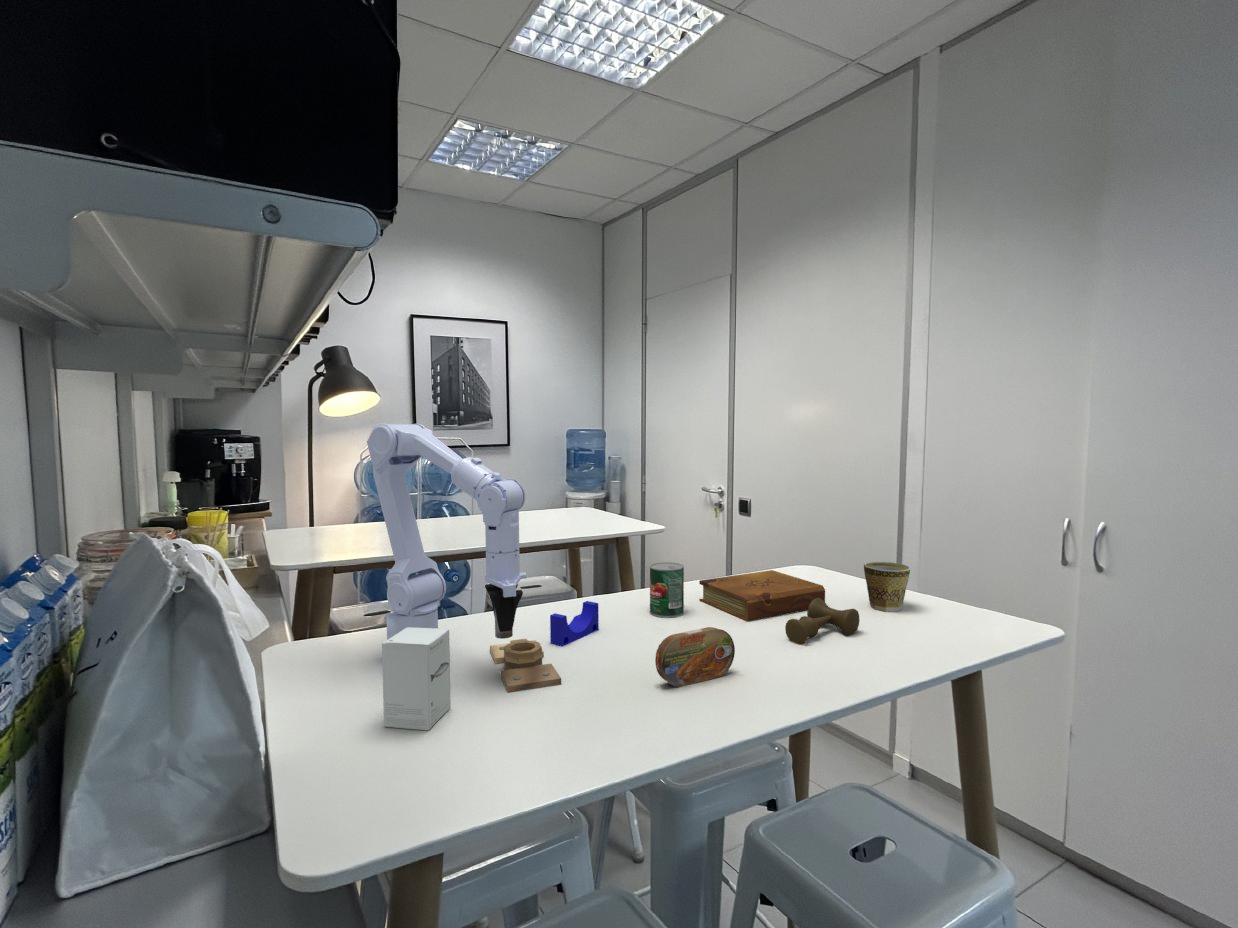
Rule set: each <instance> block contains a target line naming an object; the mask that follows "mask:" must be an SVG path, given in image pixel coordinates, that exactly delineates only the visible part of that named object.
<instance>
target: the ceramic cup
mask: <svg viewBox="0 0 1238 928" xmlns="http://www.w3.org/2000/svg"><path fill="white" fill-rule="evenodd" d="M863 571H864V572H863V573H864V578H865V582H866V589H867V593H868V594H867V595H868V601H869V606H870V607H871V608H872V609H873V610H874V611H875V610H876V611H879V612H880V611H881V612H885V613H897V612H899V611H901V610H903V606H904V601H905V600H904V599H905V596H906V592H907V586H908V583H909V579H910V573H911V567H910V566H908V565H906V564H903V563H899V562H893V561H892V562H891V561H869V562H865V563H863Z"/></svg>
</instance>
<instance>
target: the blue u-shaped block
mask: <svg viewBox="0 0 1238 928" xmlns="http://www.w3.org/2000/svg"><path fill="white" fill-rule="evenodd" d="M567 619H568V617H567V615H565V614H560V613H556V612H555V613H552V614H550V615H549V623H550V625H549V626H550V627H549V631H550V633H549V635H550V637H549V638H550V645H553V646H558V647H561V648H562V647H565V646H567V645H569V644H572V643H573V642H575V641H578V640H580V639H582V638H584V636H585V637H587V636H589V635H591V634H593V633H595V632H597V631H600V629H599V619H600V618H599V602H594V601H591V600H590V601H589V600H587V601H584V602H582V609H581V613H579V614H577V615H574V616H573V618H572V620H571V621H570V622H569V623H568V620H567Z"/></svg>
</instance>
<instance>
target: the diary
mask: <svg viewBox="0 0 1238 928" xmlns="http://www.w3.org/2000/svg"><path fill="white" fill-rule="evenodd" d="M698 583H699V585H701V586H702V598H699V602H700V603H704V604H705V605H707V606H710V607H712V608H715V609H717V610H719V611H722V612H724V613H726V614H729V615H731V616H732V617H735V618H737V619H740V620H743V622H751V621H756V620H757V621H758V620H762V619H763V620H764V619H767V618H774V617H778V616H783V615H784V616H785V615H789V614H795V613H801V612H806V611H808V607H809V604H810V603H811V601H812V600H814V599H815V598H820V599H822V600H823V601H824V602H825V603H826V589H825V588H824V587H825V586H824V585H823V584H819V583H815V582H812V581H809V580H806V579H802V578H800V577H796V576H793V575H789V574H786V573H783V572H779V571H776V570H772V569H771V570H770V569H769V570H764V571H757V572H756V571H755V572H747V573H743V574H735V575H730V576H729V575H728V576H721V577H714V578H709V579H708V578H707V579H701V580H699V582H698Z"/></svg>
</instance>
